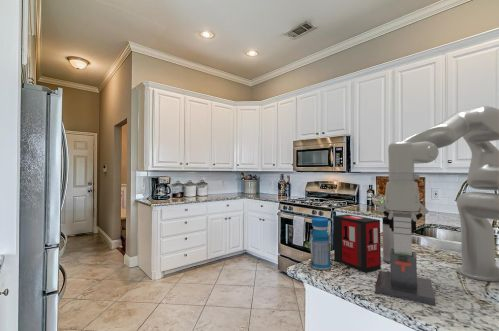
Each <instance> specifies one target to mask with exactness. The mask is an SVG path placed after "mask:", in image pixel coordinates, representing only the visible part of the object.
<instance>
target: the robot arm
mask: <svg viewBox="0 0 499 331" xmlns="http://www.w3.org/2000/svg"><path fill="white" fill-rule="evenodd" d="M461 138H463V139H464V140H465V143H466V144H467V146H468V147H469V149H470V152H471V158H470V159H471V160H470V165H469V168H468V173H467V179H466V182H467V185H468V186H469V187H470V188H471V189H474V190H479V191H466V192H463V193H461V194H459V195H458V197H457V199H456V207H457V210H458V214H459V221H460V236H461V244H460V245H461V266H458V267H457V273H459V274H460V275H462V276H464V277H466V278H469V279H474V280H477V281H483V282H490V283H491V282H493V283H495V281H497V282H499V267H498V266H497V265H496V250H495V249H496V248H495V243H496V242H495V230H494V227H493V225H492V223H491V222H490V221H489V220H496V221H499V149H498V148H497V147H496V146H495V145H494V144H492V143H491V141H492V142H495V141H499V109H498V108H497V107H493V106H488V105H487V106H486V105H482V106H478V107H473V108H468V109H465V110H464V109H463V110H459V111H457V112H454V113H453V114H451V115H450V116H448V117H447V118H445V119H444V120H442V121H440V122H439V123H437V124H436V125H434V126H432V127H430V128H428V129H425V130H423V131H421V132H419V133H416V134H414V135H411V136H409V137H407V138H405V139H404V140H403V141H396V142H395V141H394V142H391V143H389V144H388V148H387V153H388V181H387V182H386V184H385V193H384V196H385V197H384V201H383V202H382V203H381V204H380V205H379V206H378V207H377V210H378V211H379V212H381V213H382V215H384V217H388V219H389V228H392V231H394V222H393V220H394V218H393V213H394V212H407V213H410V214H411V233H412V234H415V231H416V232H417V221H418V220H419V219H420V218H422V217H423V216H425V215H426V214H428V213H429V210H428V209H427V207H426V206H425V205H424V204H422V203H421V201H420V189H419V185H418V182H417V181H415V180H419V179H420V174H416V173H415V164H416V165H417V164H418V165H419V164H429V163H432V162H434V161H435V160H437V158H438V156H439V154H440V153H439V149H441V148H445V147H448V146H450V145H453V144H454V143H456V142H457V141H459V140H460V139H461ZM480 190H481V191H480ZM483 191H484V192H483ZM485 191H494V192H495V193H494V192H485ZM496 192H498V193H496ZM420 210H421V211H420ZM388 211H389V212H388ZM419 211H420V212H419ZM416 213H417V214H416Z"/></svg>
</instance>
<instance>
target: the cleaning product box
mask: <svg viewBox="0 0 499 331" xmlns="http://www.w3.org/2000/svg"><path fill="white" fill-rule="evenodd" d="M333 247H334V248H333V256H334V260H333V262H337V263H338V264H342V265H345V266H346V267H349V268H352V269H354V270H357V271H359V272H361V273H364V274H369V273H372V272H376V271H377V272H378V271H381V270H382V263H381V262H382V257H381V255H382V252H381V220H380V219H377V218H370V217H365V216H359V215H353V214H348V213H347V214H339V215H333Z"/></svg>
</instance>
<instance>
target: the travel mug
mask: <svg viewBox="0 0 499 331" xmlns="http://www.w3.org/2000/svg"><path fill="white" fill-rule="evenodd" d="M393 218H394V217H393ZM381 228H382V261H383V262H384V263H386V264H389V265H390V252H391V249H394V231H392V228H389V219H388V217H387V216H383V217H382V226H381Z"/></svg>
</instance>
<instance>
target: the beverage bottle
mask: <svg viewBox="0 0 499 331" xmlns="http://www.w3.org/2000/svg"><path fill="white" fill-rule="evenodd" d="M311 226H312V227H313V228H311V231H310V238H309V243H310V266H311V268H313V269H315V270H320V271H326V270H327V271H328V270H330V269H331V267H332V264H331V244H332V243H331V242H332V240H331V239H330V238H331V233H330V231H329V229H328V227H329V219H328V218H326V217H312V218H311Z"/></svg>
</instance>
